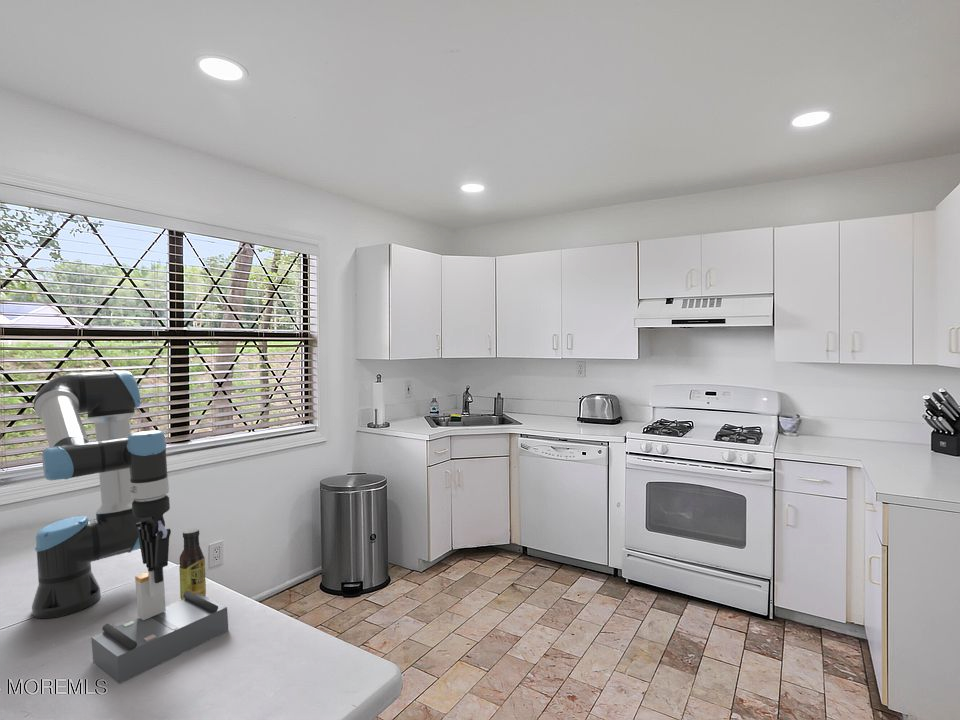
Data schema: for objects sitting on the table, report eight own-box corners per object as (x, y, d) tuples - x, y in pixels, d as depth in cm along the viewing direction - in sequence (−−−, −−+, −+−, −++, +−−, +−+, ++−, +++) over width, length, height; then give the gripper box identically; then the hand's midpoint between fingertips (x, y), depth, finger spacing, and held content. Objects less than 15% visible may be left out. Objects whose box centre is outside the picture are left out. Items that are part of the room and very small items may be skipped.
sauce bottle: (195, 608, 144) (190, 536, 143) (175, 606, 145) (170, 535, 144) (212, 596, 150) (208, 527, 149) (193, 595, 151) (188, 526, 150)
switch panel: (93, 662, 120) (91, 636, 120) (199, 615, 140) (198, 592, 139) (119, 684, 112) (117, 655, 112) (228, 630, 132) (227, 606, 131)
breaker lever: (137, 616, 127) (135, 576, 127) (160, 607, 132) (157, 568, 131) (143, 620, 126) (140, 579, 125) (165, 611, 130) (163, 570, 129)
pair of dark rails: (102, 632, 122) (102, 625, 122) (189, 596, 138) (189, 590, 138) (128, 651, 114) (128, 643, 114) (218, 610, 130) (218, 604, 129)
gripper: (121, 497, 126) (128, 594, 127) (145, 505, 119) (152, 608, 120) (155, 489, 132) (161, 582, 133) (180, 496, 125) (186, 594, 126)
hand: (157, 594), depth 126 cm, fingers closed
